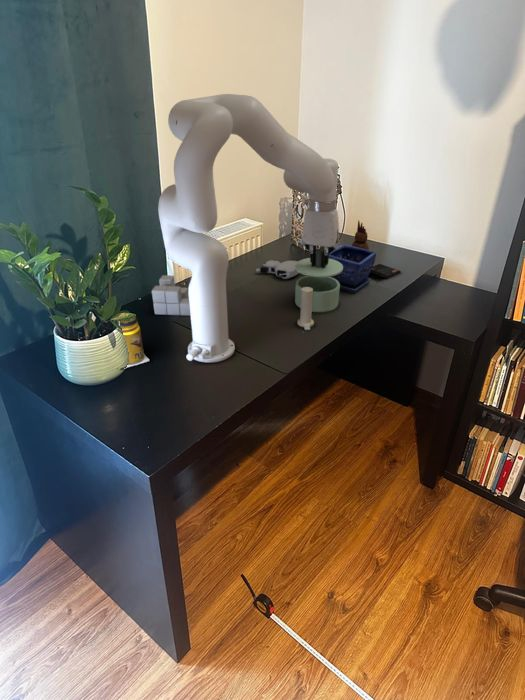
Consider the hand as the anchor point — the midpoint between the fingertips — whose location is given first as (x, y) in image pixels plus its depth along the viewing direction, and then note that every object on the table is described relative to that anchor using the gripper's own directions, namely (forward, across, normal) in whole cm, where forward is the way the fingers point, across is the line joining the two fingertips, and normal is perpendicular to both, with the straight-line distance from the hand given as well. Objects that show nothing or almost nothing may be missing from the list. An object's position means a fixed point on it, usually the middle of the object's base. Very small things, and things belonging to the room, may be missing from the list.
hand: (319, 265), depth 151 cm
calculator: (+13, +14, +32) cm, 37 cm away
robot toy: (+13, -19, +18) cm, 29 cm away
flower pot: (+13, +6, +17) cm, 22 cm away
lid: (+1, 0, 0) cm, 1 cm away
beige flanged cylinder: (+13, +1, -15) cm, 20 cm away
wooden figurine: (+13, +4, +42) cm, 44 cm away
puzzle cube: (+13, -40, -18) cm, 46 cm away
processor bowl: (+13, 0, 0) cm, 13 cm away
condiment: (+13, -36, -50) cm, 63 cm away
